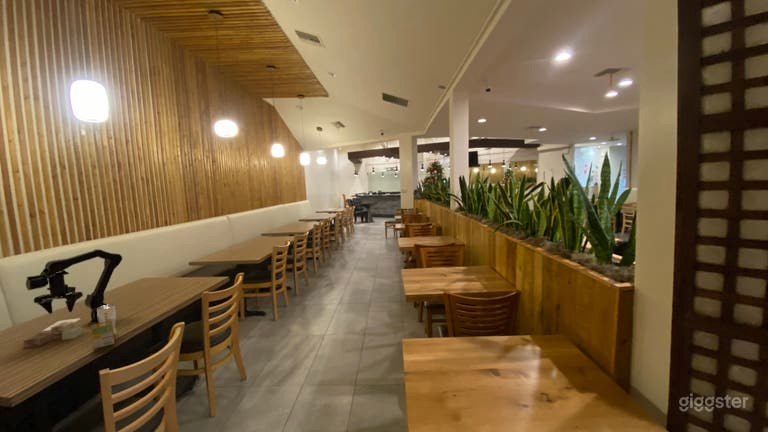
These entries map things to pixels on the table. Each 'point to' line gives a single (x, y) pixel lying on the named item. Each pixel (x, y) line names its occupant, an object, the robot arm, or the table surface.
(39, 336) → the walnut base brick
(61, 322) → the page
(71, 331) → the sage brick
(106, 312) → the beer glass
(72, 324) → the maple brick
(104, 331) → the crayon box
